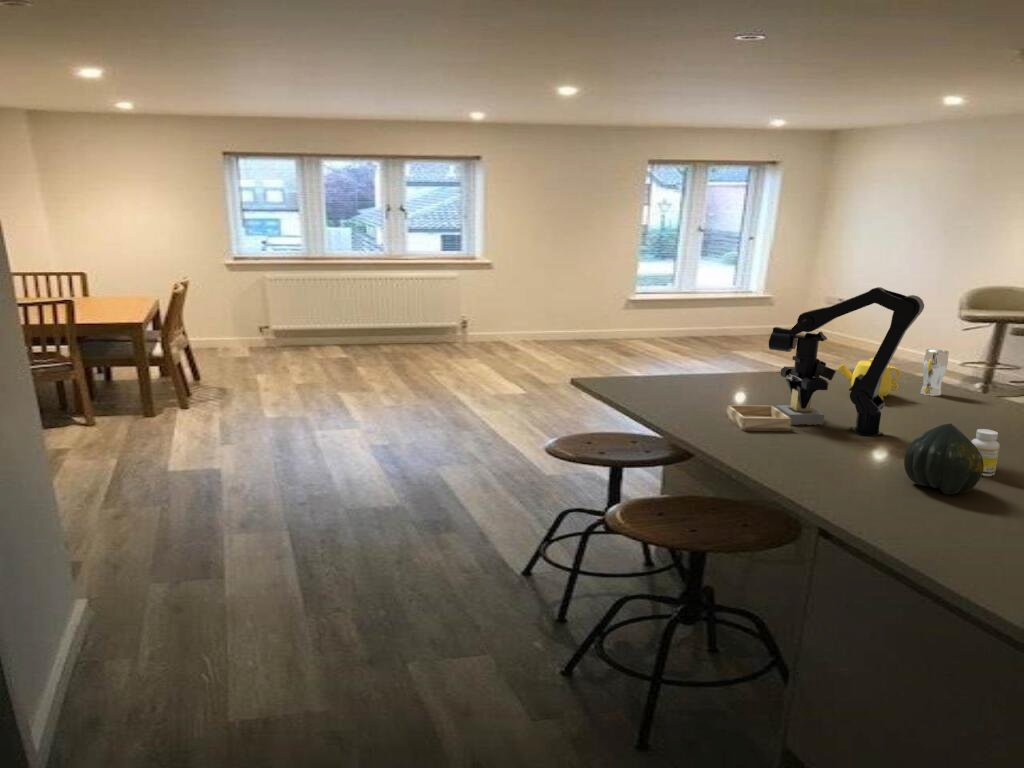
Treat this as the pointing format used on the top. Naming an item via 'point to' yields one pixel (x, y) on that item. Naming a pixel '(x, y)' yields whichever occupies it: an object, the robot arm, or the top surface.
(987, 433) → the supplement bottle
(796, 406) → the pin
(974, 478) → the squash
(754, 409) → the tray
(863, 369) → the teapot
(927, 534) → the top surface
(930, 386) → the beer glass
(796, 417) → the frame
